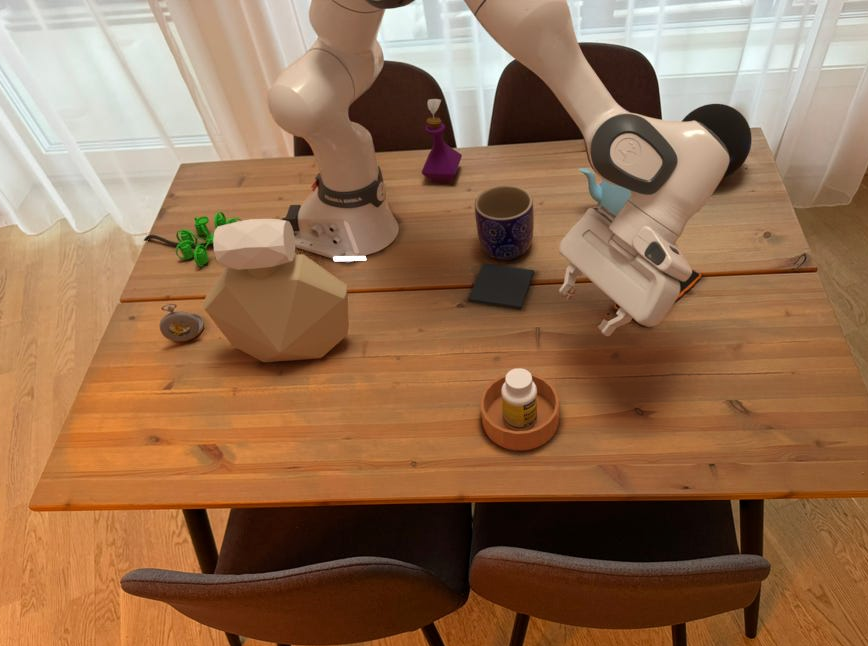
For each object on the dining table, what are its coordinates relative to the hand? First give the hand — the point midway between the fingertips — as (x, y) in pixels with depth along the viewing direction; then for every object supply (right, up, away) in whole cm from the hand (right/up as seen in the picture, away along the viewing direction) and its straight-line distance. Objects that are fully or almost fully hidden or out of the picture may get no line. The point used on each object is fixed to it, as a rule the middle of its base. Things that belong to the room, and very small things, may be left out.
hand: (582, 313), depth 109 cm
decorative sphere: (+33, +32, +47) cm, 66 cm away
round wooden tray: (-8, -16, +9) cm, 20 cm away
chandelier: (-69, +17, +46) cm, 85 cm away
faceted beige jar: (-48, -5, +24) cm, 54 cm away
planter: (-9, +15, +37) cm, 41 cm away
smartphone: (+17, +5, +25) cm, 31 cm away
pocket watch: (-69, -2, +29) cm, 75 cm away
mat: (-10, +7, +30) cm, 32 cm away
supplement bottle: (-8, -16, +9) cm, 20 cm away
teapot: (+15, +23, +42) cm, 50 cm away
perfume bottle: (-22, +34, +55) cm, 68 cm away
